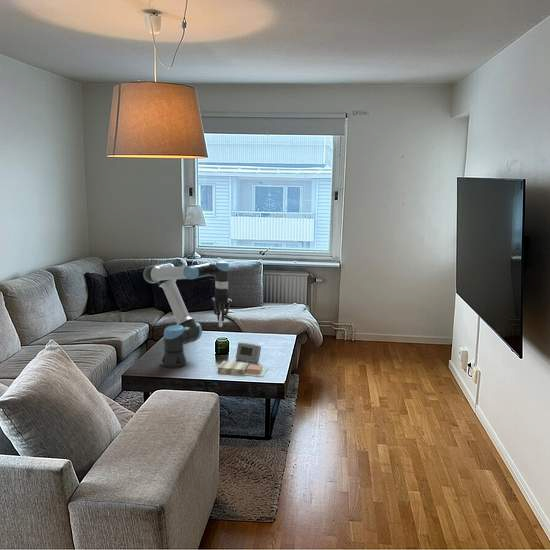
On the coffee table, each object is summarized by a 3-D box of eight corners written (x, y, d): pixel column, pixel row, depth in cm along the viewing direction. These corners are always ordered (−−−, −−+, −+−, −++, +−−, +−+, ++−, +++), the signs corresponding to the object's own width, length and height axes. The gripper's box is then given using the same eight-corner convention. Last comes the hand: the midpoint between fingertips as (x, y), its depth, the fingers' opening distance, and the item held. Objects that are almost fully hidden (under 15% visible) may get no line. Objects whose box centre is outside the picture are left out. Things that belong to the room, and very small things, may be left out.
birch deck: (217, 372, 321) (218, 367, 320) (223, 365, 333) (223, 360, 332) (244, 374, 318) (244, 369, 318) (249, 367, 330) (249, 363, 329)
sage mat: (244, 375, 317) (244, 374, 317) (249, 367, 331) (249, 366, 331) (262, 377, 315) (262, 376, 315) (267, 368, 329) (267, 368, 329)
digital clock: (234, 359, 344) (234, 343, 342) (243, 356, 351) (243, 340, 349) (254, 365, 335) (254, 348, 333) (263, 361, 342) (263, 345, 340)
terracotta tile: (246, 372, 320) (246, 368, 320) (249, 368, 327) (249, 364, 327) (259, 373, 319) (259, 369, 318) (262, 369, 326) (262, 365, 325)
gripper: (209, 288, 318) (208, 326, 323) (230, 289, 316) (229, 328, 321) (212, 285, 326) (211, 323, 330) (234, 287, 323) (232, 325, 328)
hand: (220, 326), depth 325 cm, fingers closed
